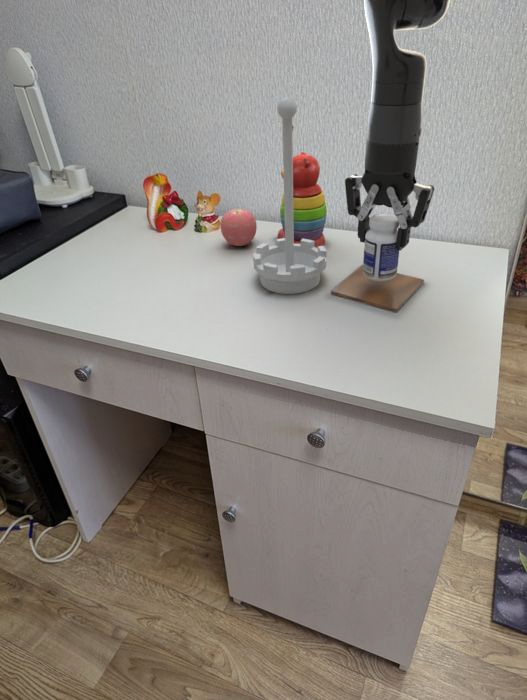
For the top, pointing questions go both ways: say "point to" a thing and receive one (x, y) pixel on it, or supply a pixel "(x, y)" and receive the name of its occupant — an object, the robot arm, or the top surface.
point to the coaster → (378, 290)
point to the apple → (238, 227)
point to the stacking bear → (306, 202)
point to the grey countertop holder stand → (289, 233)
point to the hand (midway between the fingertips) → (382, 244)
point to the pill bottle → (381, 248)
